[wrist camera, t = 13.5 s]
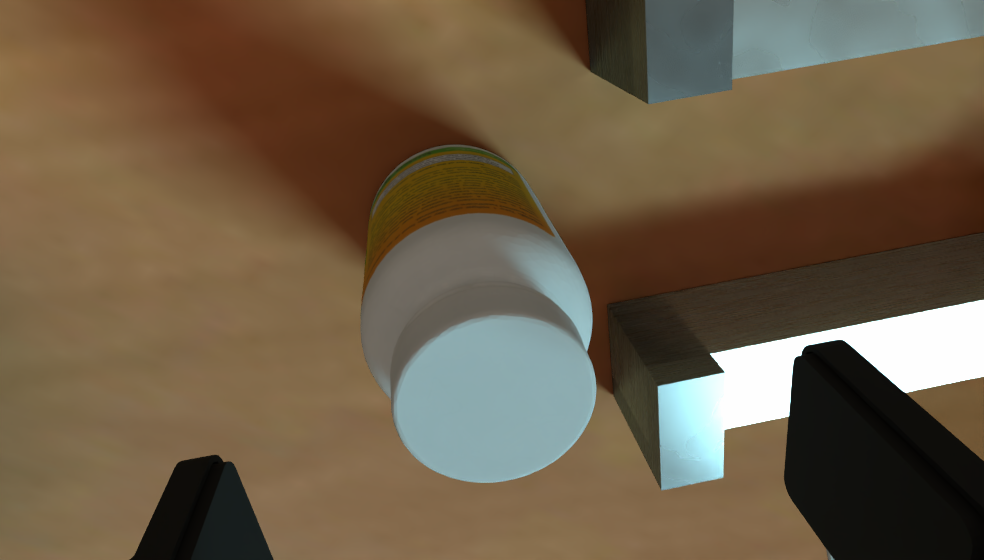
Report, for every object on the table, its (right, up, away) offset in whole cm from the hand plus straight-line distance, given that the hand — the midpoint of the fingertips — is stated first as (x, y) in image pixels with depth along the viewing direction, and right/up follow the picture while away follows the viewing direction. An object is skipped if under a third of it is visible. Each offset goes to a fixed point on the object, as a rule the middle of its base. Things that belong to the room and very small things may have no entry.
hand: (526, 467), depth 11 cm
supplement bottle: (-2, +5, +10) cm, 12 cm away
